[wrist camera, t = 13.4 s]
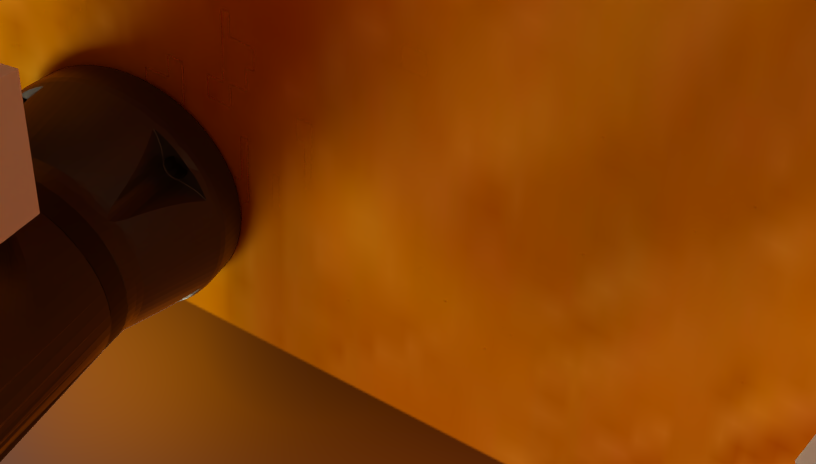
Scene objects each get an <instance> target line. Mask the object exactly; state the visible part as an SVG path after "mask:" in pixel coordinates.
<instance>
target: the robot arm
mask: <svg viewBox="0 0 816 464" xmlns="http://www.w3.org/2000/svg"><path fill="white" fill-rule="evenodd" d="M240 225H241V214H240V205H239V199H238V195H237V191H236V187H235V184H234V181H233V178H232V176H231V173H230V171H229V169H228V167H227V165H226V163H225V161H224V159H223V157H222V155H221V153H220V152H219V150H218V149H217V147H216V146H215V144H214V143H213V141H212V140H211V138H210V137H209V136H208V134H207V133H206V132H205V131H204V129H203V128H202V127H201V126H200V125H199V124H198V122H197V121H196V120H195V119H194V118H193V117H192V116H191V115H190V114H189V113H188V112H187V111H186V110H185V109H184V108H183V107H181V106H180V105H179V104H178V103H177V102H175V101H174V100H173V99H172V98H170V97H169V96H168V95H166V94H165V93H164V92H162V91H161V90H159V89H157V88H156V87H154V86H153V85H151V84H149V83H147V82H146V81H144V80H141V79H139V78H137V77H135V76H133V75H130V74H128V73H125V72H122V71H119V70H116V69H112V68H108V67H102V66H94V65H79V66H72V67H67V68H63V69H60V70H58V71H55V72H53V73H51V74H49V75H48V76H46V77H44V78H42V79H40V80H38V81H36V82H34V83H33V84H31V85H29V86H27V87H25V88H24V89H23V90H21V85H20V78H19V72H18V69H17V68H14V67H10V66H7V65H4V64H0V462H1V461H2V460H3V459H4V457H5V456H6V455H7V454H8V453H9V452H10V451H11V450H12V449H13V448H14V447H15V445H16V444H17V443H18V442H19V441H20V440H21V439H22V438H23V437H24V436H25V435H26V434H27V432H29V430H30V429H31V428H32V427H33V426H34V425H35V424H36V423H37V422H38V421H39V420H40V419H41V417H42V416H43V415H44V414H45V413H46V412H47V411H48V410H49V409H50V408H51V407H52V406H53V405H54V404H55V402H56V401H57V400H58V399H59V398H60V397H61V396H62V395H63V394H64V393H65V392H66V390H67V389H68V388H69V387H70V386H71V385H72V384H73V383H74V382H75V381H76V380H77V379H78V378H79V376H80V375H81V374H82V373H83V372H84V371H85V370H86V369H87V368H88V367H89V366H90V365H91V364H92V362H93V361H94V360H95V359H96V358H97V357H98V356H99V355H100V354H101V353H102V351H103V350H104V349H105V348H106V347H107V346H108V345H109V344H110V343H111V342H112V341H113V340H114V339H115V338H116V337H117V336H118V335H119V334H120V333H121V332H122V331H123V330H124V329H126V328H128V327H130V326H132V325H134V324H136V323H138V322H140V321H142V320H144V319H146V318H148V317H150V316H152V315H154V314H156V313H158V312H160V311H162V310H164V309H165V308H167V307H169V306H171V305H173V304H175V303H176V302H179V301H182V300H185V299H187V298H189V297H191V296H193V295H195V294H196V293H198V292H199V291H200V290H202V289H203V288H204V287H205V286H207V284H208V283H209V282H210V281H211V280H212V279H213V278H214V277H215V276H216V275H217V274H218V272H219V271H220V270H221V269H222V268H223V267H224V266H225V265H226V263H227V262H228V261H229V259H230V258H231V256H232V255H233V252H234V250H235V248H236V245H237V243H238V239H239V234H240ZM795 463H796V464H816V435H815V436H814V437H813V439H812V440H811V441H810V442H809V444H808V445H807V446H806V447H805V449H804V450H803V451H802V453H801V454H800V455H799V456H798V458H797V459H796V460H795Z"/></svg>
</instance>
